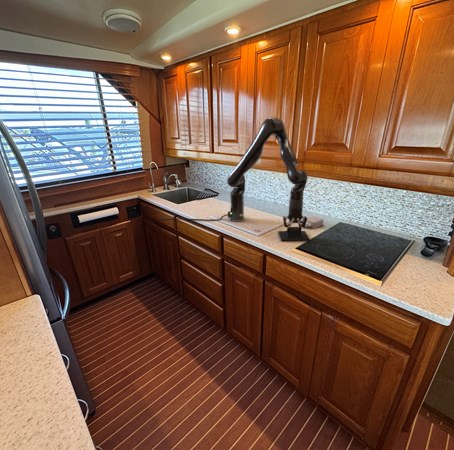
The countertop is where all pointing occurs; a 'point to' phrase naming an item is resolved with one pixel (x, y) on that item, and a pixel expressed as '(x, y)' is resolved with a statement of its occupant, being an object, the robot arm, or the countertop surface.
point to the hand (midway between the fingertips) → (293, 233)
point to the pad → (294, 231)
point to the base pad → (287, 237)
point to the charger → (314, 222)
